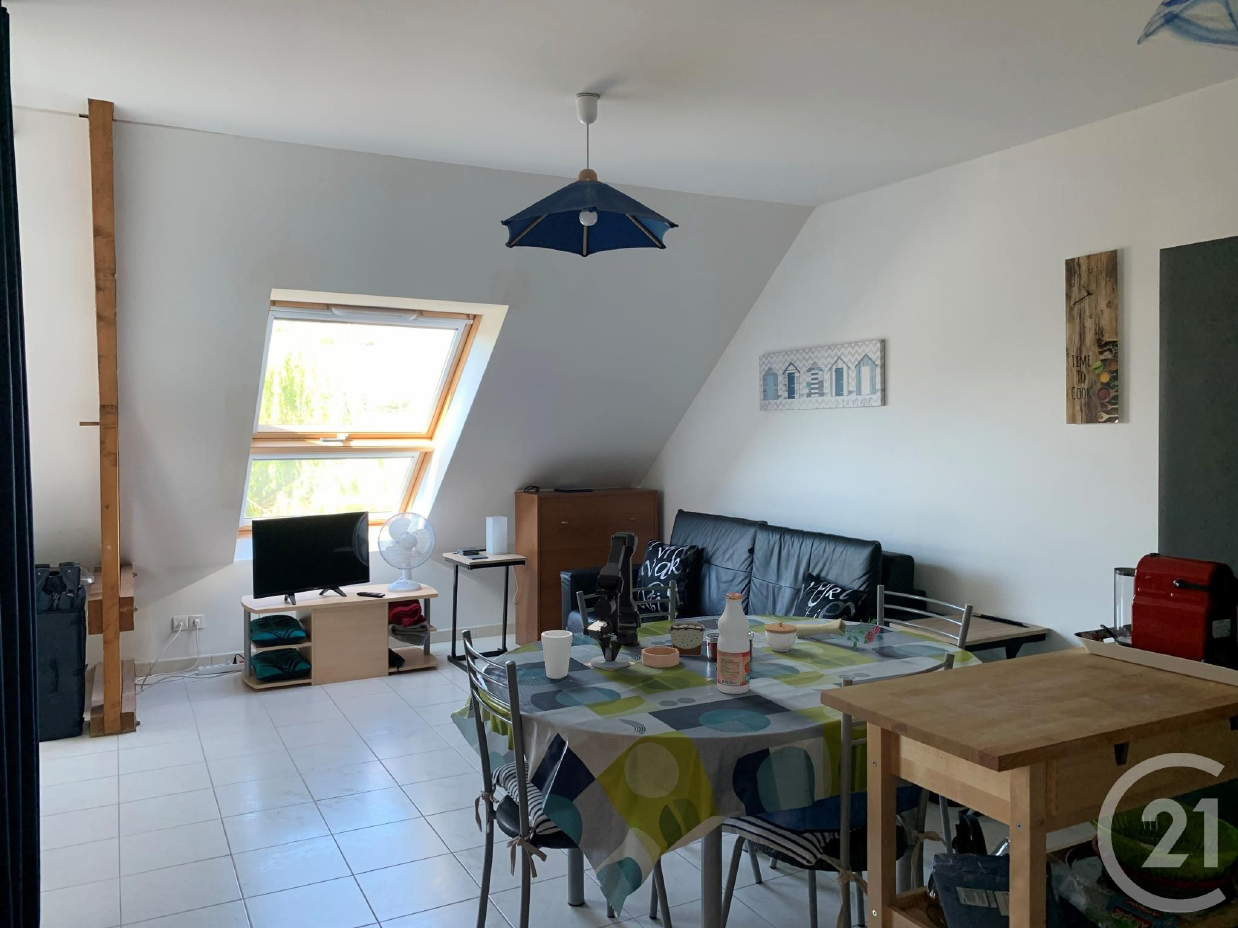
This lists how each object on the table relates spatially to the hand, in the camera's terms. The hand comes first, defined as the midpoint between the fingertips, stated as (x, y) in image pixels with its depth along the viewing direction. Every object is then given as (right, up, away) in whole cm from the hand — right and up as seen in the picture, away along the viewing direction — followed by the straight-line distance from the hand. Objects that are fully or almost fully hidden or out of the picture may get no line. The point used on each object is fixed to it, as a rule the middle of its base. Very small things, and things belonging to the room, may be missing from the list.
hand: (609, 659), depth 295 cm
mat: (0, -2, 0) cm, 2 cm away
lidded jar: (+58, -1, +20) cm, 61 cm away
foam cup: (-16, -3, -13) cm, 20 cm away
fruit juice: (+36, -3, -27) cm, 45 cm away
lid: (0, -1, 0) cm, 1 cm away
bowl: (+16, -2, +2) cm, 16 cm away
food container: (+26, -1, +15) cm, 30 cm away
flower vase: (+79, -1, +25) cm, 83 cm away
